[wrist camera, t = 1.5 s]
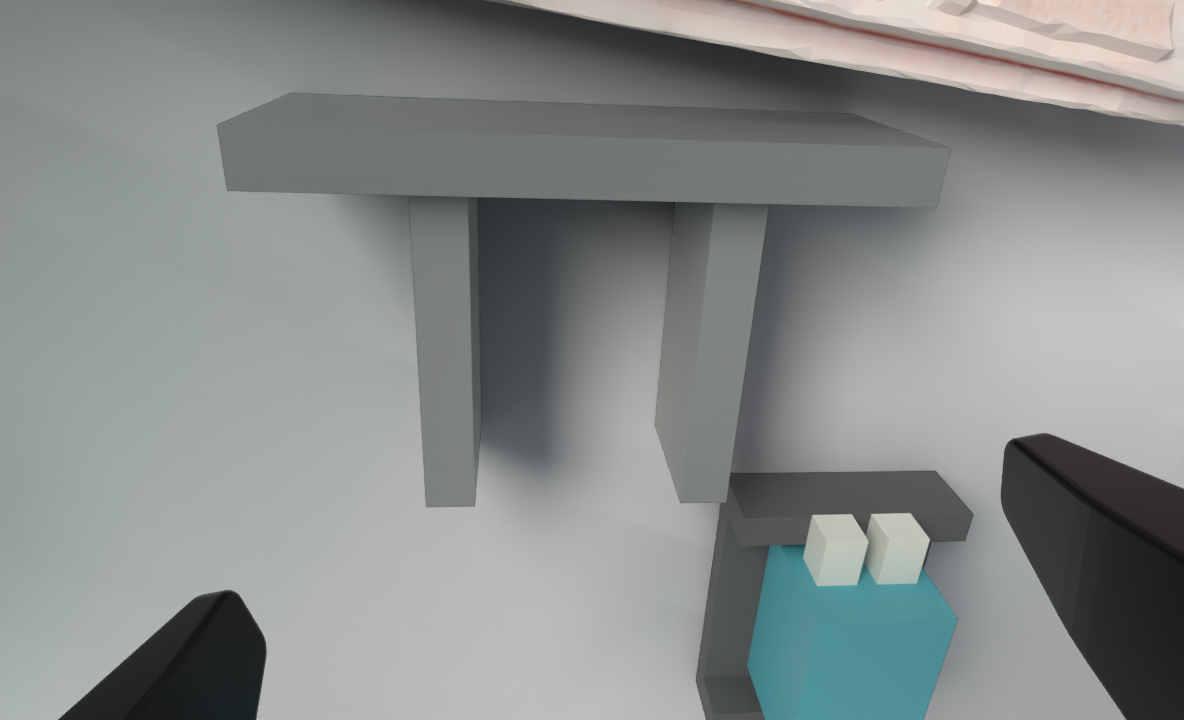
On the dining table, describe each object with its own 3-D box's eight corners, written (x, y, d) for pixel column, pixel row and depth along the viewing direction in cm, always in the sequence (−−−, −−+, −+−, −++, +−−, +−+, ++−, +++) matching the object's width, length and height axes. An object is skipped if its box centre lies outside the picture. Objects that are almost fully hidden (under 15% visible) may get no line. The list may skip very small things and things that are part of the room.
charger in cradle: (878, 673, 29) (906, 725, 27) (695, 680, 28) (710, 735, 26) (935, 471, 25) (973, 513, 23) (725, 473, 24) (744, 518, 22)
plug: (856, 661, 27) (908, 764, 24) (747, 665, 27) (782, 770, 23) (905, 485, 24) (973, 573, 20) (780, 486, 24) (828, 577, 20)
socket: (795, 423, 24) (861, 523, 19) (328, 426, 22) (281, 535, 18) (851, 113, 20) (951, 148, 15) (289, 93, 18) (217, 125, 14)
